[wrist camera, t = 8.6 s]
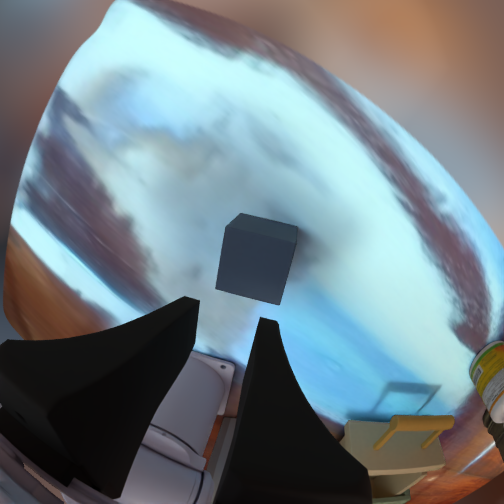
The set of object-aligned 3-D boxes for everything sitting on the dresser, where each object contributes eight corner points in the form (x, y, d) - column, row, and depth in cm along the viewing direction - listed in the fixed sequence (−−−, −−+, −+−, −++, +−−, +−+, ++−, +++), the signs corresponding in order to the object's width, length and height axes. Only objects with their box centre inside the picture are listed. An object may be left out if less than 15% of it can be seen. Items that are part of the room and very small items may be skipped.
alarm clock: (295, 476, 30) (285, 554, 17) (237, 471, 31) (216, 546, 19) (301, 422, 25) (290, 536, 12) (223, 416, 27) (186, 521, 14)
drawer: (370, 387, 21) (380, 442, 15) (457, 393, 20) (476, 435, 14) (305, 472, 28) (301, 510, 22) (378, 475, 27) (381, 509, 21)
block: (230, 265, 21) (215, 289, 17) (240, 212, 19) (225, 226, 16) (283, 278, 20) (279, 305, 17) (297, 226, 19) (296, 243, 15)
